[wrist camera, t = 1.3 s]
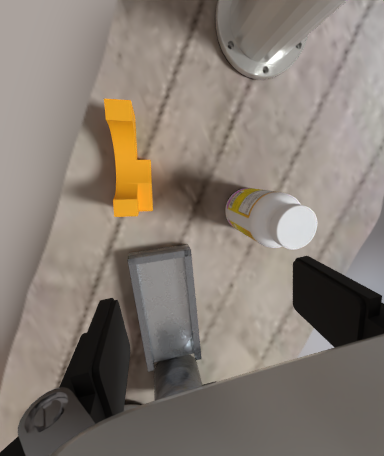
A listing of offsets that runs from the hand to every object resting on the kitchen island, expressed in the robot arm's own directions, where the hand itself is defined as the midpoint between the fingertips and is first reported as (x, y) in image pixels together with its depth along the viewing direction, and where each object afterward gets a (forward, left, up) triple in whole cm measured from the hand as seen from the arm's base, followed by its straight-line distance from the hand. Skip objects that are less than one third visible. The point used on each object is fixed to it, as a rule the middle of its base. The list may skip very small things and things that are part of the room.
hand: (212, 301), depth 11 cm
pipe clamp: (-8, -4, -22) cm, 24 cm away
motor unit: (+19, -2, -22) cm, 29 cm away
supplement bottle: (0, +12, -22) cm, 25 cm away
